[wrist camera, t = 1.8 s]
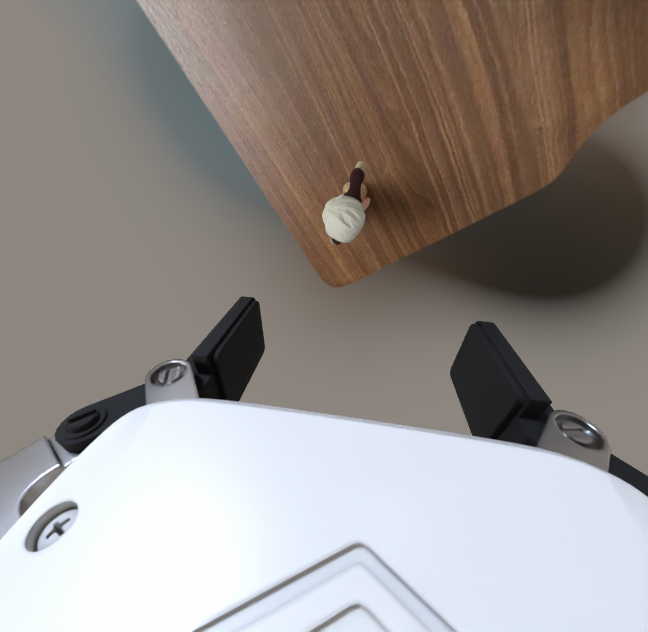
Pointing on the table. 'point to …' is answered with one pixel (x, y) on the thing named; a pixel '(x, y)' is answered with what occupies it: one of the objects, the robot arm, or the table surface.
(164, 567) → the robot arm
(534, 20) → the table surface
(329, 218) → the grandmother figurine
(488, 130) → the table surface
